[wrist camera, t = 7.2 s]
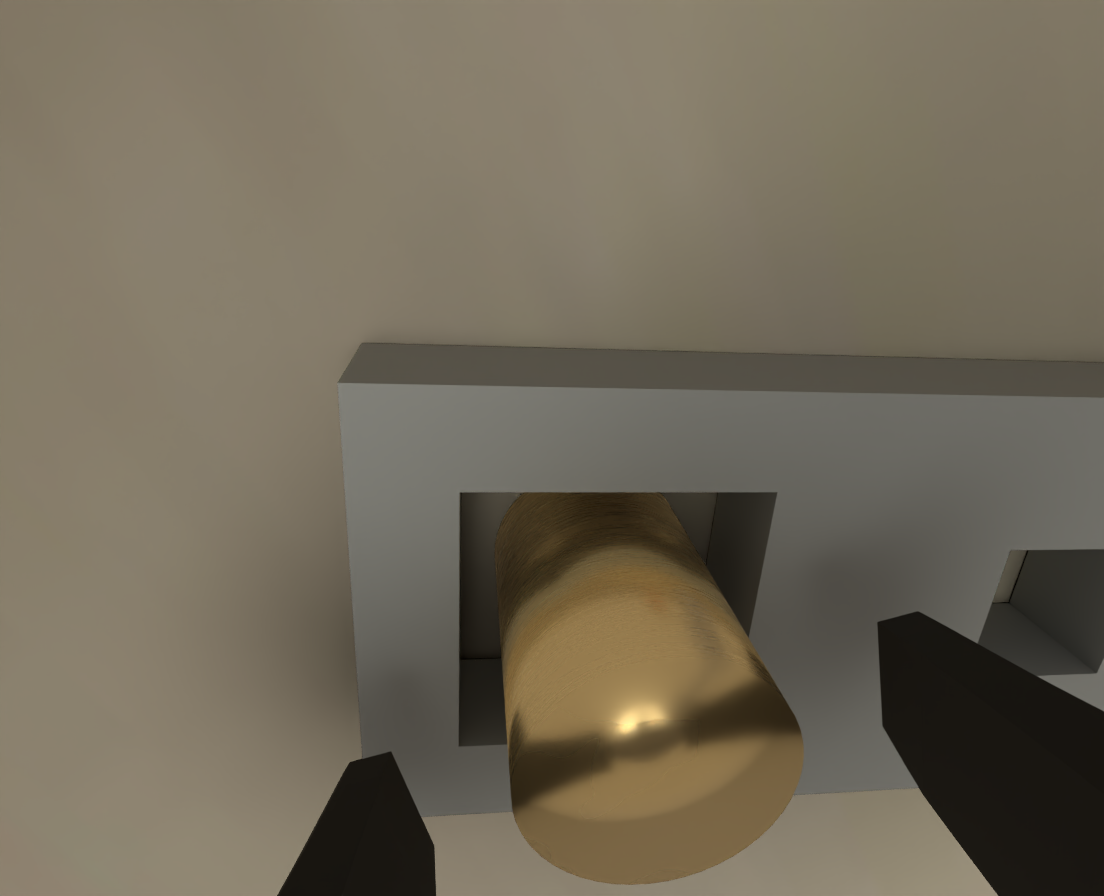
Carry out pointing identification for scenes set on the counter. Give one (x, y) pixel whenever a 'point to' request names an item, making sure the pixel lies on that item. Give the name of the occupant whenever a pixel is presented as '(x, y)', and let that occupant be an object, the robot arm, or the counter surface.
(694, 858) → the gold cylinder
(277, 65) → the counter surface
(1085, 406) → the header block
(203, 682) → the counter surface
